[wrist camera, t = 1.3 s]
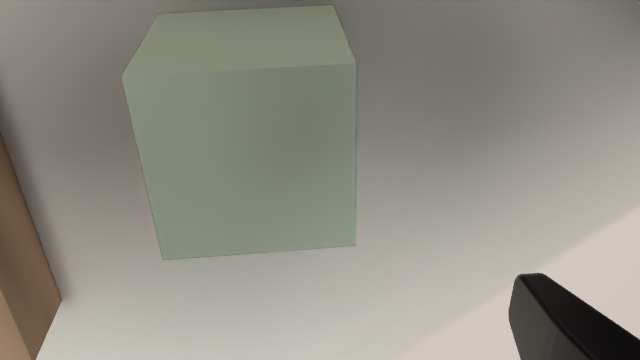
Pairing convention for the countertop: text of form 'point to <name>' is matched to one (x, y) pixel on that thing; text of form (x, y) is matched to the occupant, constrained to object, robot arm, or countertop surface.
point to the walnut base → (22, 274)
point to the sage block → (246, 130)
